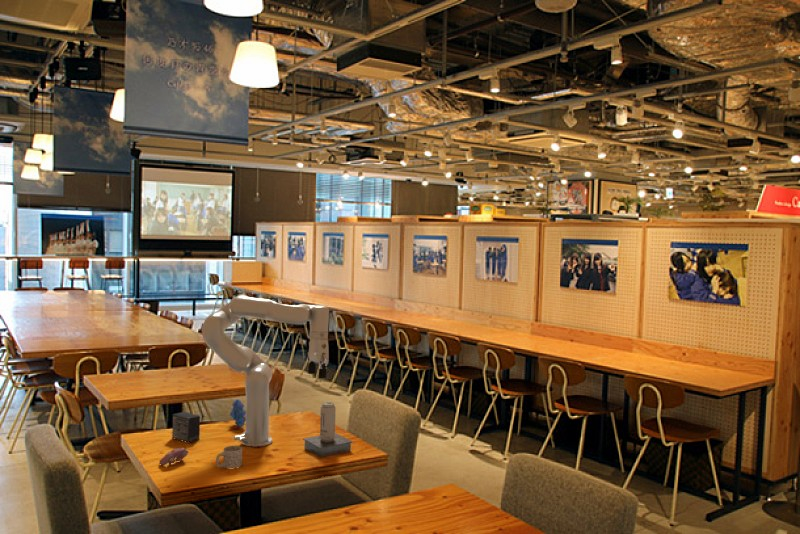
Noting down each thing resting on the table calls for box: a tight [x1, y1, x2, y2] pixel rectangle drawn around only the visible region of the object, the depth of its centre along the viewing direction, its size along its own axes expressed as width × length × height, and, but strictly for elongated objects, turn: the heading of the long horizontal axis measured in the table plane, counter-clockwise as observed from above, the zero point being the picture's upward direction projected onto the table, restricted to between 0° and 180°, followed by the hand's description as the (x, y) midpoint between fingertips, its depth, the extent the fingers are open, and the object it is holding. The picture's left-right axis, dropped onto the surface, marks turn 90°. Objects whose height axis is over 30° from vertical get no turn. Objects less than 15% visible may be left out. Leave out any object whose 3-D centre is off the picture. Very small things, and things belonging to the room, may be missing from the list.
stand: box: [302, 432, 353, 458], centre depth 260 cm, size 15×14×4 cm
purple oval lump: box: [159, 447, 189, 466], centre depth 240 cm, size 10×5×7 cm, turn 149°
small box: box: [171, 411, 201, 443], centre depth 269 cm, size 11×6×10 cm, turn 58°
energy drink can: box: [319, 401, 337, 442], centre depth 260 cm, size 6×6×15 cm
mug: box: [215, 445, 243, 469], centre depth 238 cm, size 10×7×7 cm, turn 133°
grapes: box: [229, 398, 246, 428], centre depth 289 cm, size 12×7×12 cm, turn 37°
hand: (317, 375), depth 268 cm, fingers open, 9 cm apart
